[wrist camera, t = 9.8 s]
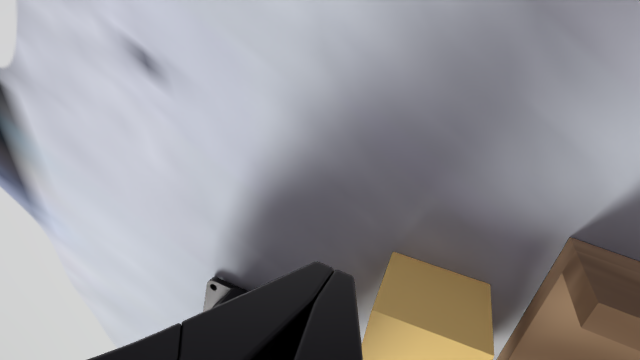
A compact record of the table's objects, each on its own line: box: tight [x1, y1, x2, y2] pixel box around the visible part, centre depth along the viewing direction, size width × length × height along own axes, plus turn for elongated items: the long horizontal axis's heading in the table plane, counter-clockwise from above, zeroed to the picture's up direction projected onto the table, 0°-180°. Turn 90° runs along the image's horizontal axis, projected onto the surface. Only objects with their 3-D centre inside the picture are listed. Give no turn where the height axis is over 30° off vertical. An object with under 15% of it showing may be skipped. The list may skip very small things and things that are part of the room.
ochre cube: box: [362, 252, 494, 360], centre depth 20 cm, size 5×5×5 cm
